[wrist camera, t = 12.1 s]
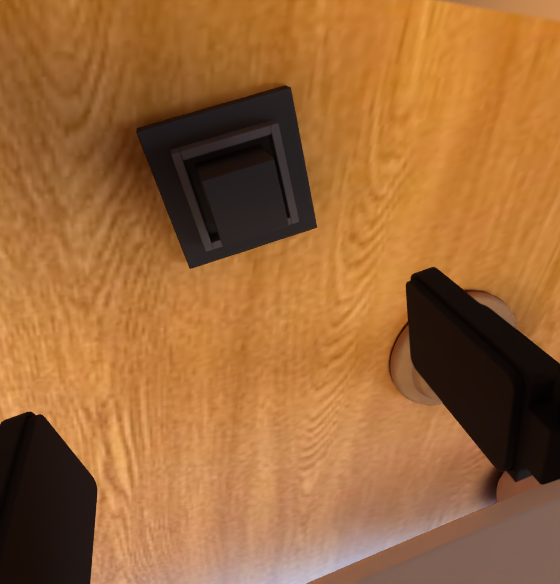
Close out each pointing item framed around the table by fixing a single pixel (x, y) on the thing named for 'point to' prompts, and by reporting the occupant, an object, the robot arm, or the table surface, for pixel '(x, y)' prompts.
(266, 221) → the black block
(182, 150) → the base pad
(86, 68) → the table surface
